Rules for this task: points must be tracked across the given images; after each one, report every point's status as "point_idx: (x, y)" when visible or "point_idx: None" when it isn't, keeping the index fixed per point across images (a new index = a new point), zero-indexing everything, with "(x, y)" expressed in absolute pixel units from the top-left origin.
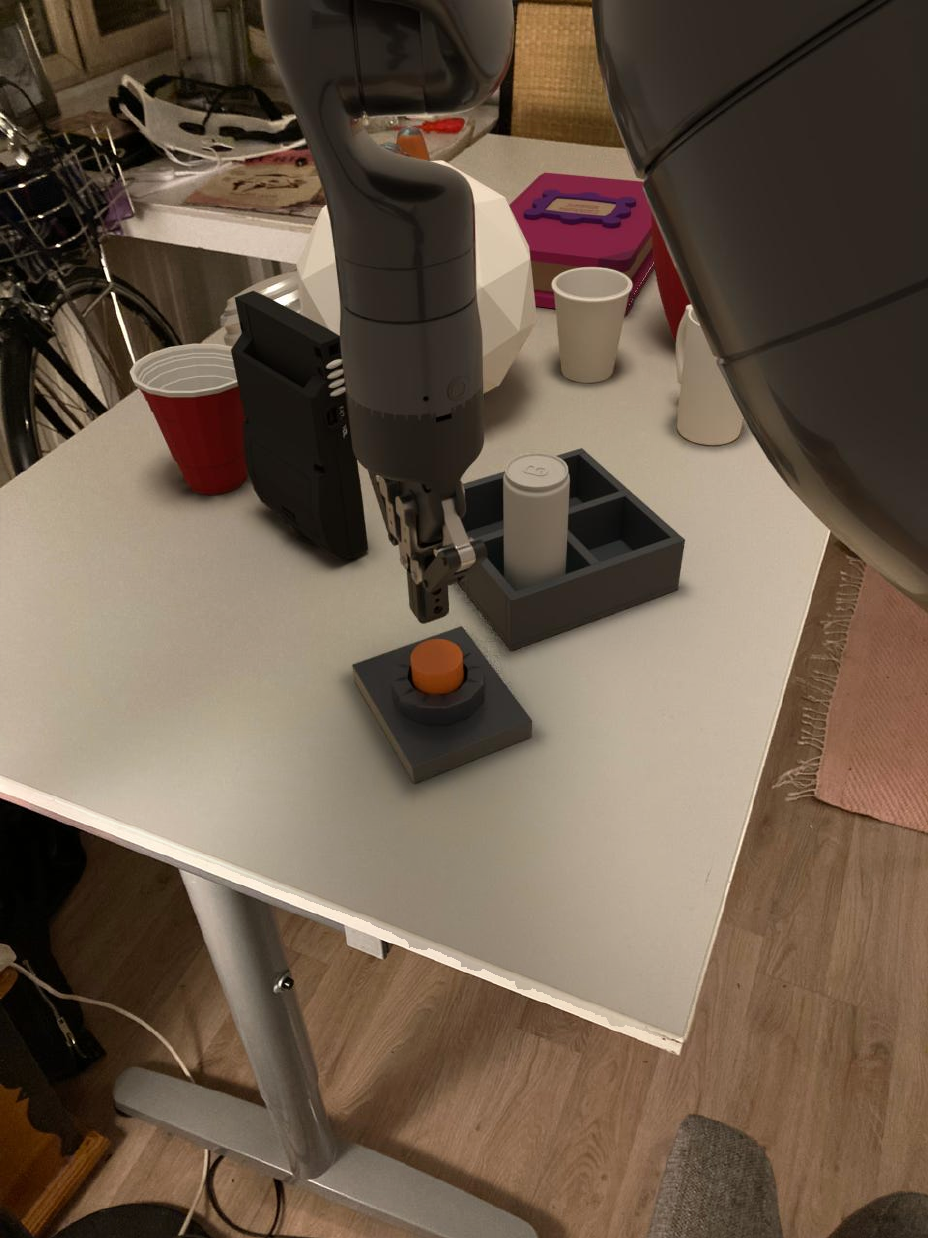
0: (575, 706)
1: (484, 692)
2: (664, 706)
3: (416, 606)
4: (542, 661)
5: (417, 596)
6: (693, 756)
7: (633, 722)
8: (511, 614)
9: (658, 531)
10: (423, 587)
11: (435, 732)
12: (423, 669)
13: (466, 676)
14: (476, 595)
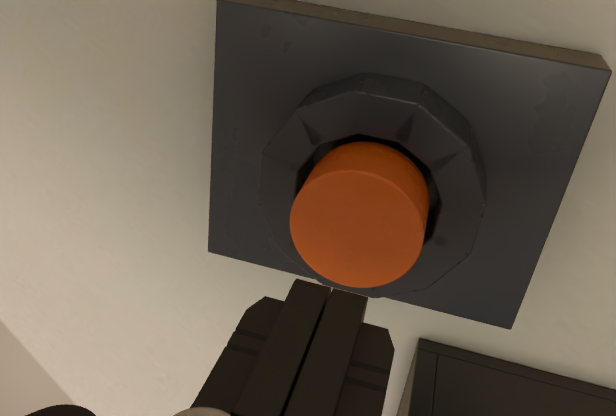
0: None
1: None
2: (180, 388)
3: (286, 319)
4: None
5: (260, 356)
6: (90, 347)
7: (175, 344)
8: (409, 410)
9: None
10: (226, 403)
11: (276, 99)
12: (333, 182)
13: None
14: (575, 403)
